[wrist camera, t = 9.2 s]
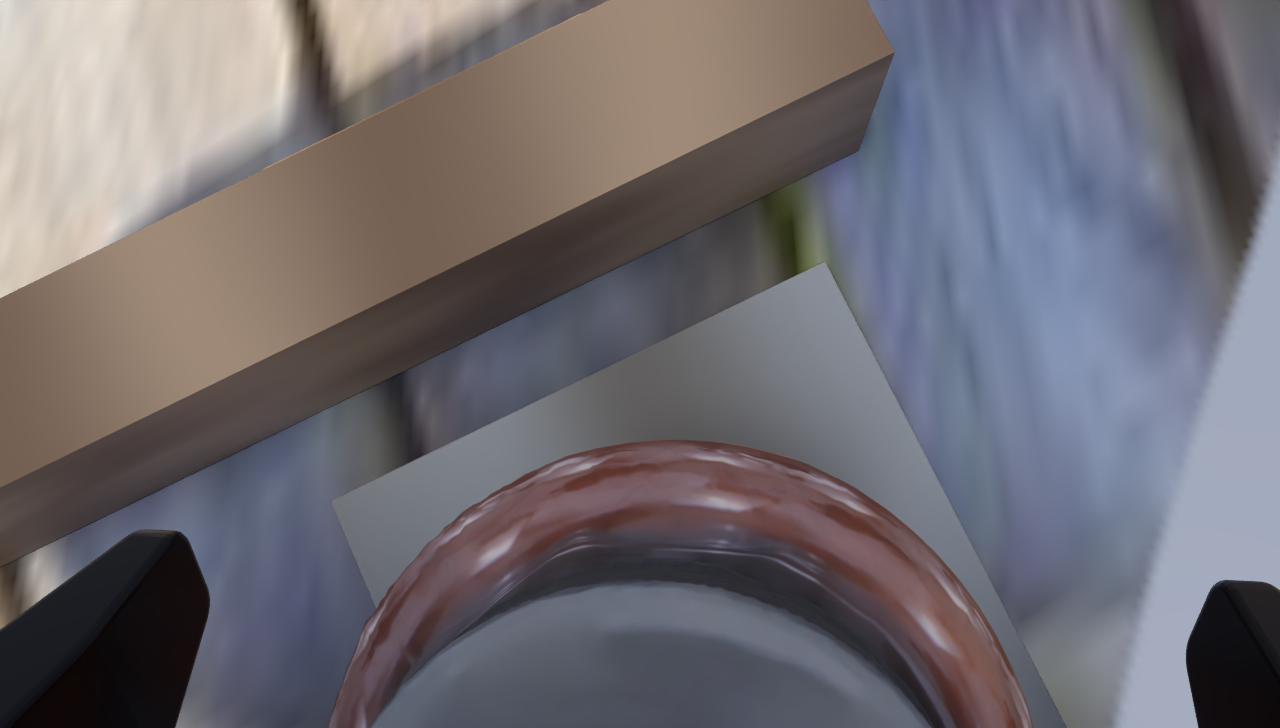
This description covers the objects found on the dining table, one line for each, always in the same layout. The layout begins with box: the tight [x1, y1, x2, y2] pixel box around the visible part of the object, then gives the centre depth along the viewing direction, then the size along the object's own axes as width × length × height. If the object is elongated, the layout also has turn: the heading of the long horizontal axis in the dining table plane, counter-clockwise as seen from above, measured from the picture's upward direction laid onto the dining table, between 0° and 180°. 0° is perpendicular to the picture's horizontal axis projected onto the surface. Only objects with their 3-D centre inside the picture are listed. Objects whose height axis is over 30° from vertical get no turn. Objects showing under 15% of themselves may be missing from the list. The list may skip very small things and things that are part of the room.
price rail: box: [0, 0, 1067, 728], centre depth 16 cm, size 26×13×4 cm, turn 115°
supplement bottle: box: [328, 439, 1034, 728], centre depth 11 cm, size 6×6×11 cm
